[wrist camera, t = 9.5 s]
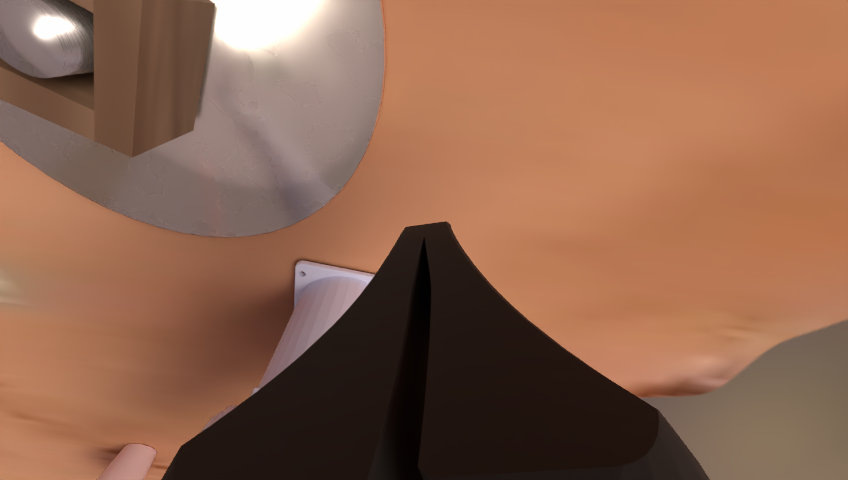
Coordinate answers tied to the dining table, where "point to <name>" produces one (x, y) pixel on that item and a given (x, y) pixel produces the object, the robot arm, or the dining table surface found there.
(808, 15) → the dining table surface
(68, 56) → the post
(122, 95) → the knob-topped wooden stand
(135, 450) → the smoothie
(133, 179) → the plate
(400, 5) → the dining table surface
